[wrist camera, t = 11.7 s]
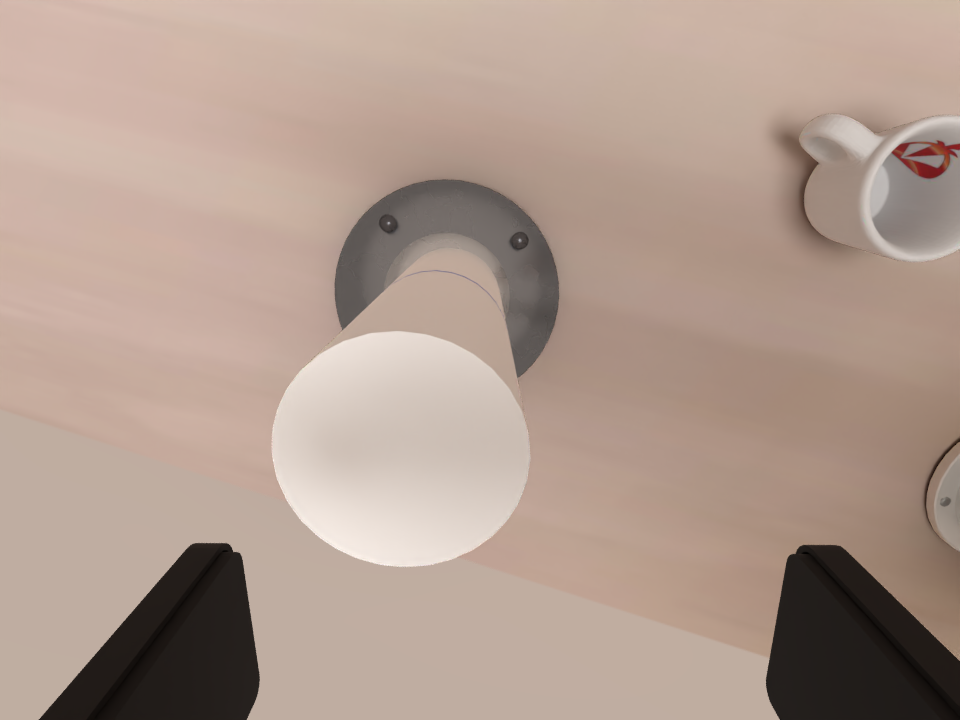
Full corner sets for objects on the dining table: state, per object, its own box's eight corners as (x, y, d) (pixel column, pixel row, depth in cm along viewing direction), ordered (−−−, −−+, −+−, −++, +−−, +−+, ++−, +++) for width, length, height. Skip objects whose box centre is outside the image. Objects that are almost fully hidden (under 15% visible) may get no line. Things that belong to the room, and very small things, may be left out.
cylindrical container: (519, 285, 39) (582, 425, 15) (463, 365, 40) (439, 606, 17) (435, 227, 38) (355, 277, 14) (381, 311, 39) (226, 486, 15)
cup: (733, 181, 38) (797, 176, 30) (816, 78, 36) (906, 46, 29) (842, 272, 40) (928, 290, 32) (926, 179, 38) (1039, 174, 30)
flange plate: (599, 313, 41) (602, 317, 39) (432, 434, 43) (430, 441, 42) (466, 130, 37) (465, 127, 36) (293, 274, 40) (287, 277, 39)
